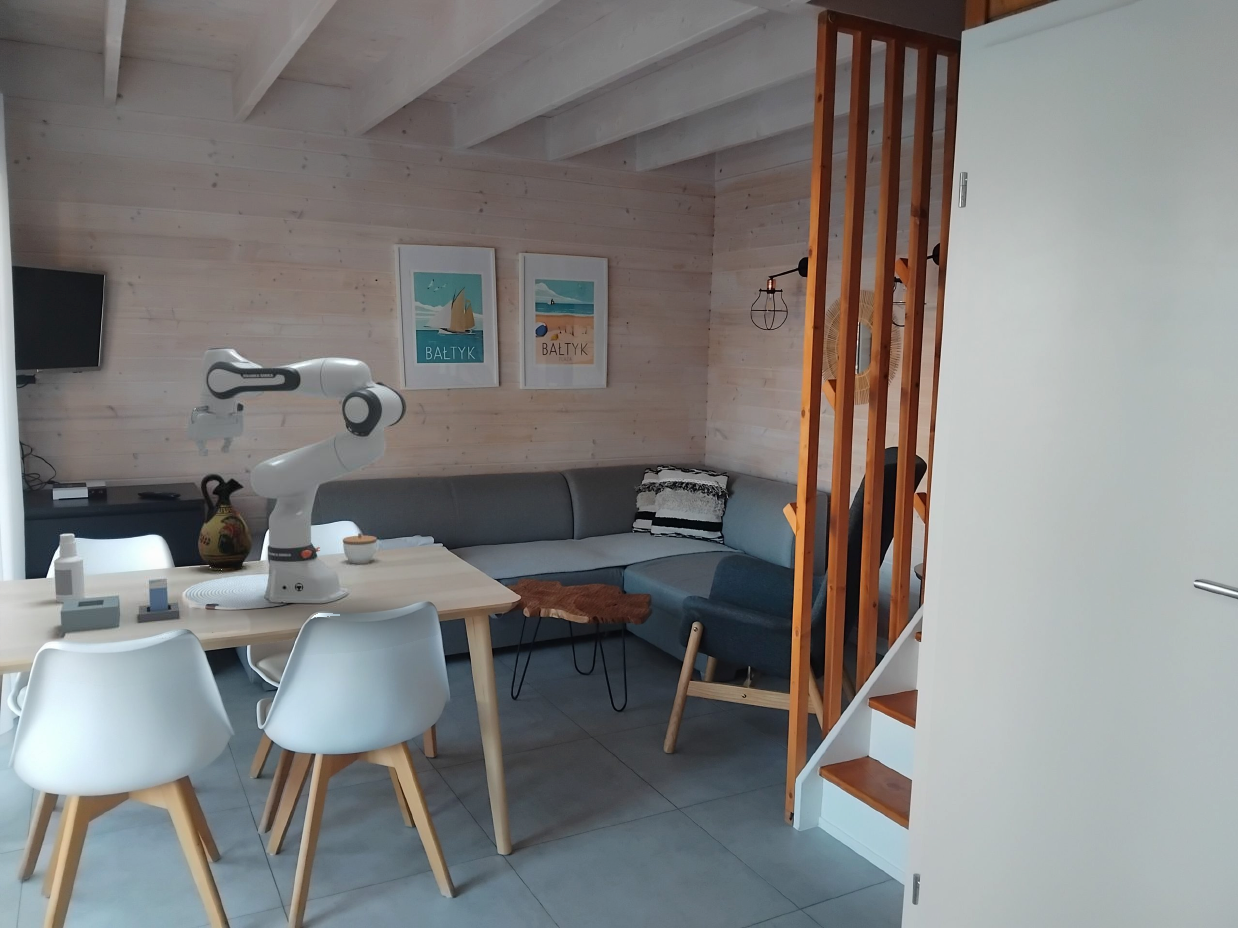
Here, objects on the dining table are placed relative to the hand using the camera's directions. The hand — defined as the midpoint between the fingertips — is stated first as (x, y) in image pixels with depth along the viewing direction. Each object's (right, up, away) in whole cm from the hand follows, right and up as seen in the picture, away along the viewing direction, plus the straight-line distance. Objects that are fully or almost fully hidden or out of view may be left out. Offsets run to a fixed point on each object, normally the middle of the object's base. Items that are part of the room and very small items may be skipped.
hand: (214, 454), depth 269 cm
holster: (-2, -42, -28) cm, 51 cm away
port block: (-15, -43, -35) cm, 57 cm away
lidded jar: (+29, -35, +44) cm, 63 cm away
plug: (-2, -41, -28) cm, 50 cm away
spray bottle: (-35, -40, -9) cm, 54 cm away
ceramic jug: (-11, -36, +32) cm, 49 cm away
